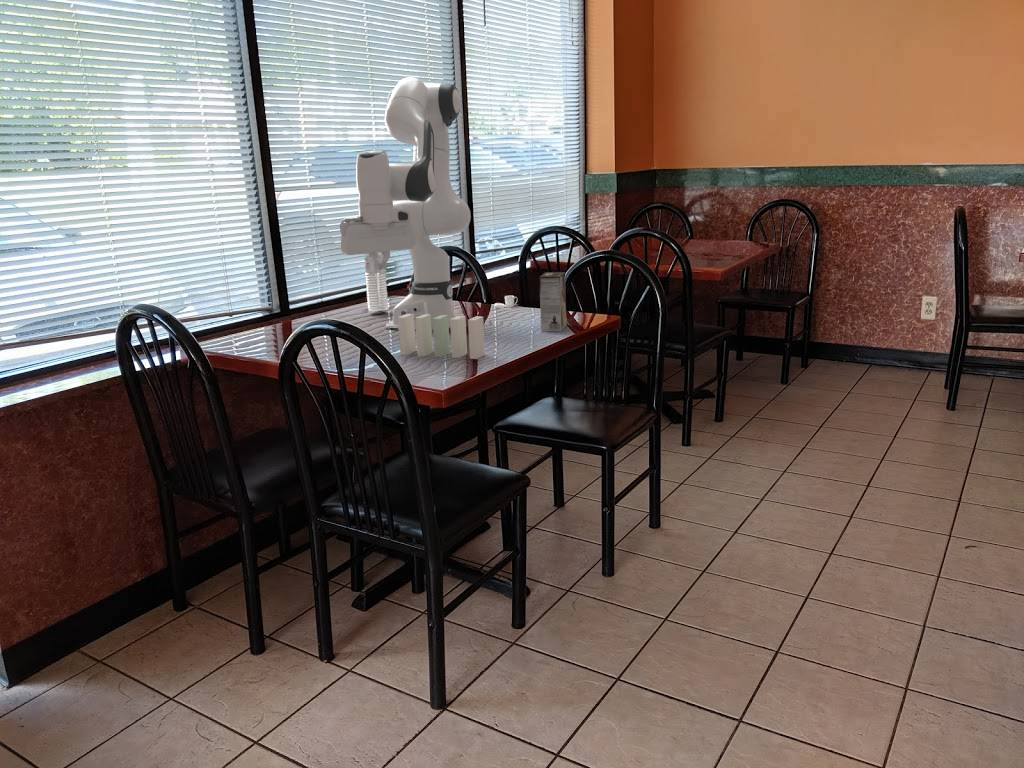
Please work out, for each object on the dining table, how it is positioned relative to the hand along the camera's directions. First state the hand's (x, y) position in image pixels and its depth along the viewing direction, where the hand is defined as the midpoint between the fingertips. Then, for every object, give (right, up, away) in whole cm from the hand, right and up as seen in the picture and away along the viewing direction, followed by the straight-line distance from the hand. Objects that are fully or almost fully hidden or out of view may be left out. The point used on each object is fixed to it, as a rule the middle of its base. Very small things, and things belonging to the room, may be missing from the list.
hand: (380, 269), depth 216 cm
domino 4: (+21, -23, -2) cm, 31 cm away
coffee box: (+47, -14, +28) cm, 56 cm away
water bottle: (-12, -5, +68) cm, 69 cm away
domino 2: (+11, -22, +2) cm, 25 cm away
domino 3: (+16, -22, 0) cm, 27 cm away
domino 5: (+25, -23, -4) cm, 34 cm away
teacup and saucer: (+32, -4, +67) cm, 74 cm away
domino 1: (+7, -22, +4) cm, 23 cm away
